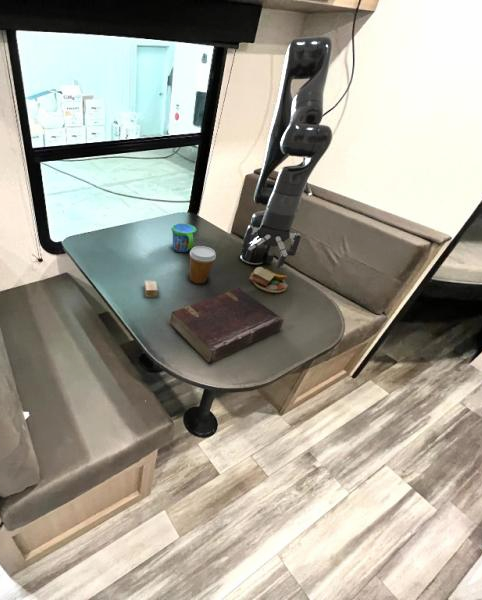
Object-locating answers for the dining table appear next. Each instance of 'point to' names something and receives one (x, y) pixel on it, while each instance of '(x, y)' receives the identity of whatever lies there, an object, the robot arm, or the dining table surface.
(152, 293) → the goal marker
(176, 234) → the snack cup
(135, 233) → the dining table surface
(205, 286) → the dining table surface
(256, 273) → the toy sandwich meal
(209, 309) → the hardback book
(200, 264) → the disposable coffee cup
